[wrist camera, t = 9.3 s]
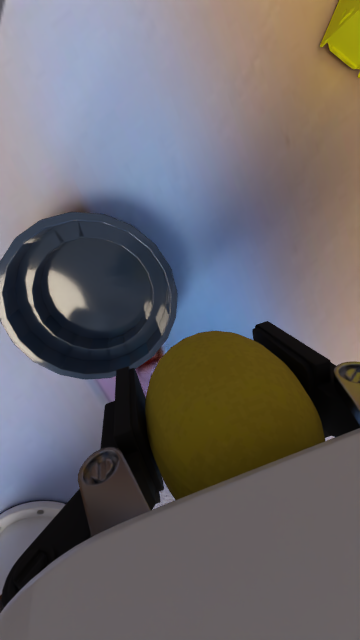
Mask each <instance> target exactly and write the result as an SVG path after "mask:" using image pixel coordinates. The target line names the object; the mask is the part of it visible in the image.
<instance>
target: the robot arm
mask: <svg viewBox="0 0 360 640" xmlns="http://www.w3.org/2000/svg"><path fill="white" fill-rule="evenodd" d="M253 339H254V341H256V342H258V343H259V344H261V345H263V346H264V347H265V348H266V349H268V350H269V351H270V352H272V353H273V354H274V355H275V356H277V357H278V358H279V359H280V360H282V361H283V362H284V363H285V364H286V365H287V366H288V367H289V369H290V370H291V371H292V372H293V373H294V375H295V376H296V377H297V379H298V380H299V382H300V383H301V385H302V386H303V388H304V390H305V391H306V393H307V394H308V396H309V397H310V399H311V401H312V402H313V404H314V406H315V408H316V410H317V412H318V414H319V417H320V420H321V423H322V427H323V432H324V437H325V438H326V437H329V436H335V438H333V439H330V440H327V441H325V442H322V443H320V444H317V445H315V446H312V447H309V448H307V449H304V450H302V451H299V452H297V453H294V454H291V455H289V456H286V457H284V458H281V459H279V460H276V461H274V462H271V463H268V464H266V465H263V466H261V467H258V468H256V469H253V470H251V471H248V472H245V473H243V474H240V475H238V476H235V477H233V478H230V479H228V480H225V481H223V482H220V483H218V484H215V485H213V486H210V487H208V488H205V489H203V490H200V491H198V492H195V493H193V494H190V495H188V496H185V497H183V498H180V499H178V500H175V501H173V502H170V503H168V504H165V505H163V506H160V507H158V508H156V509H153V507H154V506H155V504H157V503H159V502H160V495H159V491H161V490H164V486H163V480H162V475H161V473H160V471H159V468H158V466H157V463H156V461H155V459H154V456H153V453H152V451H151V448H150V444H149V441H148V436H147V428H146V414H145V401H146V398H145V395H144V393H143V390H142V387H141V384H140V382H139V379H138V376H137V373H136V371H135V368H131V369H130V367H129V366H127V367H124V368H121V369H118V370H116V389H115V401H113V402H110V403H107V404H106V405H105V410H104V420H103V430H102V440H101V449H100V450H98V451H96V452H94V453H93V454H92V455H90V456H89V457H88V458H87V459H86V461H85V462H84V463H83V465H82V466H81V468H80V470H79V473H78V483H79V487H80V489H79V490H78V491H77V492H76V493H75V495H74V496H73V497H72V498H71V499H70V500H69V501H68V503H67V504H63V503H59V502H53V501H35V502H29V503H24V504H21V505H18V506H15V507H13V508H11V509H8V510H6V511H5V512H3V513H2V514H0V640H360V362H345V363H341V364H339V365H337V366H336V365H334V364H332V363H331V362H330V360H329V359H327V358H325V357H324V356H322V355H321V354H319V353H317V352H316V351H314V350H313V349H311V348H310V347H308V346H306V345H305V344H303V343H302V342H300V341H299V340H297V339H295V338H294V337H292V336H291V335H289V334H287V333H286V332H284V331H283V330H281V329H280V328H278V327H276V326H275V325H273V324H272V323H270V322H268V321H266V322H263V323H260V324H257V325H256V326H255V328H254V329H253ZM152 509H153V510H152Z"/></svg>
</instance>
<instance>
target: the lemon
mask: <svg viewBox="0 0 360 640" xmlns="http://www.w3.org/2000/svg"><path fill="white" fill-rule="evenodd" d="M145 414H146V428H147V436H148V441H149V444H150V448H151V451H152V453H153V456H154V459H155V461H156V463H157V466H158V468H159V471H160V473H161V475H162V477H163V480H164V482H165V484H166V485H167V487H168V489H169V491H170V492H171V494H172V495H173V497H174V498H175V499H176V500H178V499H180V498H183V497H185V496H188V495H190V494H193V493H195V492H198V491H200V490H203V489H205V488H208V487H210V486H213V485H215V484H218V483H220V482H223V481H225V480H228V479H230V478H233V477H235V476H238V475H240V474H243V473H245V472H248V471H251V470H253V469H256V468H258V467H261V466H263V465H266V464H268V463H271V462H274V461H276V460H279V459H281V458H284V457H286V456H289V455H291V454H294V453H297V452H299V451H302V450H304V449H307V448H309V447H312V446H315V445H317V444H320V443H322V442H325V437H324V432H323V427H322V423H321V420H320V417H319V414H318V412H317V410H316V408H315V406H314V404H313V402H312V401H311V399H310V397H309V396H308V394H307V393H306V391H305V390H304V388H303V386H302V385H301V383H300V382H299V380H298V379H297V377H296V376H295V375H294V373H293V372H292V371H291V370H290V369H289V367H288V366H287V365H286V364H285V363H284V362H283V361H282V360H280V359H279V358H278V357H277V356H275V355H274V354H273V353H272V352H270V351H269V350H268V349H266V348H265V347H264V346H263V345H261V344H259V343H258V342H256V341H253V340H251V339H249V338H246V337H244V336H241V335H239V334H236V333H232V332H222V331H209V332H203V333H197V334H195V335H192V336H190V337H187V338H185V339H183V340H181V341H180V342H179V343H177V344H176V345H174V346H173V347H171V348H170V349H169V350H168V352H167V353H166V354H165V355H164V356H163V357H162V358H161V359H160V361H159V363H158V365H157V366H156V368H155V370H154V372H153V374H152V376H151V379H150V382H149V387H148V391H147V395H146V401H145Z"/></svg>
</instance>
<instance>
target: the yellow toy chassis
mask: <svg viewBox="0 0 360 640" xmlns="http://www.w3.org/2000/svg"><path fill="white" fill-rule="evenodd" d="M327 42H328V46H329V49H330V51H331V52H332V53H333V54H335V55H336V56H337V57H338V58H339V59H341V60H342V61H343V62H344V63H346V64H347V65H348V66H349V67H350V68H352V69H360V0H339V2H338V4H337V7H336V9H335V11H334V14H333V16H332V18H331V21H330V23H329V25H328V28H327V30H326V33H325V35H324V37H323V40H322V42H321V44H320V47H321V48H322V47H323V46H324V45H325V44H326V43H327ZM358 78H360V72H359V75H358Z"/></svg>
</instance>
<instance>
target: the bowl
mask: <svg viewBox="0 0 360 640" xmlns="http://www.w3.org/2000/svg"><path fill="white" fill-rule="evenodd" d="M176 308H177V289H176V286H175V282H174V278H173V275H172V271H171V268H170V266H169V264H168V263H167V261H166V260H165V258H164V257H163V255H162V254H161V252H160V251H159V249H158V248H157V246H156V245H155V244H154V243H153V242H152V241H151V240H149V239H148V238H147V237H146V236H145V235H143V234H142V233H141V232H140V231H138V230H137V229H136V228H135V227H134V226H132V225H130V224H127V223H125V222H122V221H120V220H117V219H115V218H112V217H110V216H107V215H105V214H98V213H83V212H68V213H64V214H61V215H57V216H53V217H49V218H46V219H42V220H40V221H38V222H37V223H35V224H34V225H33V226H31V227H30V228H28V229H27V230H26V231H24V232H23V233H21V234H20V235H19V236H17V237H16V238H15V239H14V241H13V242H12V244H11V245H10V247H9V248H8V250H7V252H6V253H5V255H4V256H3V258H2V259H1V261H0V321H1V323H2V325H3V326H4V328H5V330H6V331H7V333H8V335H9V337H10V338H11V340H12V342H13V343H14V344H15V345H16V346H17V347H18V348H19V349H20V350H21V351H22V352H23V353H25V354H26V355H27V356H28V357H29V358H30V359H31V360H32V361H33V362H35V363H37V364H39V365H41V366H43V367H45V368H47V369H49V370H51V371H53V372H55V373H57V374H60V375H64V376H70V377H75V378H80V379H102V378H112V377H115V376H116V370H118V369H121V368H124V367H127V366H129V367H130V369H131V368H135V369H136V368H137V367H139V366H140V365H141V364H143V363H144V362H146V361H147V360H149V359H150V358H152V356H154V355H155V353H156V352H157V351H158V350H159V348H160V347H161V346H162V345H163V343H164V342H165V341H166V340H167V338H168V336H169V333H170V331H171V328H172V326H173V323H174V321H175V318H176Z"/></svg>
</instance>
